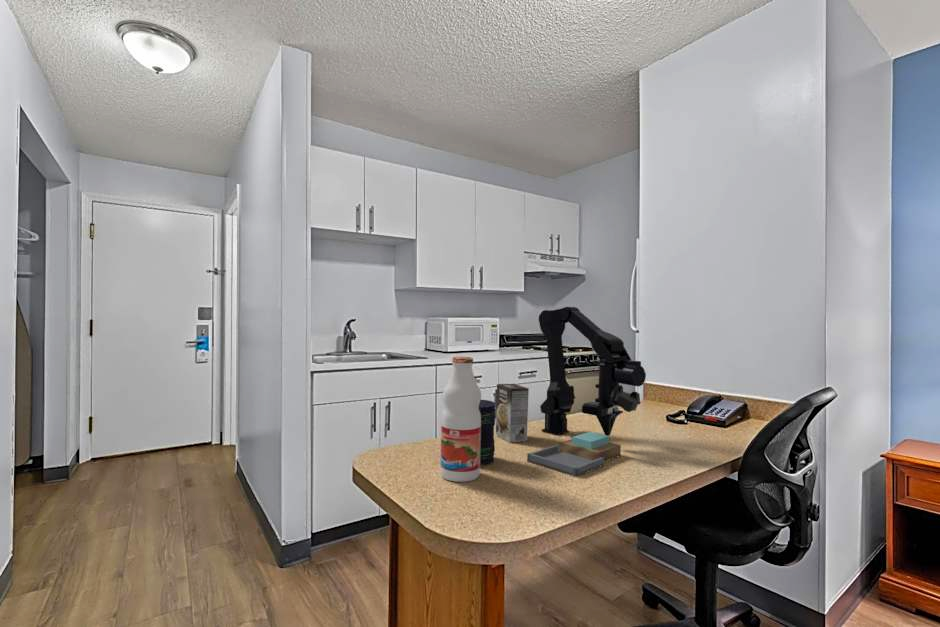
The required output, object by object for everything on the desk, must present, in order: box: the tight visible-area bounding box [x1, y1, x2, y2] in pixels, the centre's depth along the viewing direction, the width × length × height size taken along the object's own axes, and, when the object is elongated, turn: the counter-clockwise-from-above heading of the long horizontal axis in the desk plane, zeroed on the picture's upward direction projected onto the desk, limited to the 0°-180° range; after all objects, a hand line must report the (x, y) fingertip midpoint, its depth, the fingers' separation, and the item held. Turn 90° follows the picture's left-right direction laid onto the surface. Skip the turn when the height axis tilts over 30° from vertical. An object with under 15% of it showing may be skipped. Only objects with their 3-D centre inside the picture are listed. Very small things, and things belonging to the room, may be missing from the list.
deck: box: [559, 438, 622, 462], centre depth 133 cm, size 12×11×3 cm
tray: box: [526, 444, 605, 477], centre depth 125 cm, size 15×12×2 cm
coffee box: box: [495, 383, 530, 444], centre depth 148 cm, size 9×6×16 cm
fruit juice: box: [439, 356, 482, 483], centre depth 115 cm, size 9×9×28 cm
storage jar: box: [479, 399, 496, 466], centre depth 127 cm, size 10×10×15 cm
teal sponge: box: [571, 431, 610, 449], centre depth 133 cm, size 6×9×2 cm, turn 134°
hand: (607, 435), depth 139 cm, fingers closed
